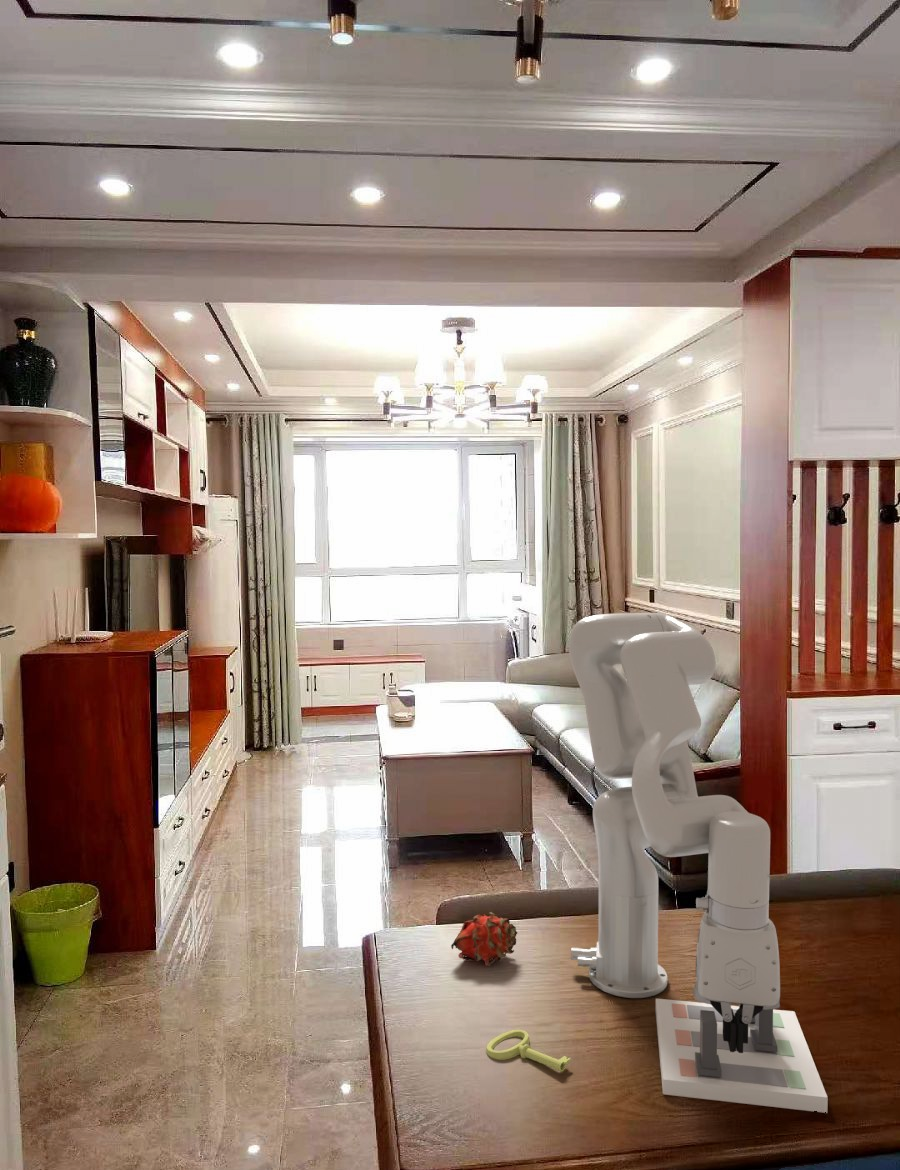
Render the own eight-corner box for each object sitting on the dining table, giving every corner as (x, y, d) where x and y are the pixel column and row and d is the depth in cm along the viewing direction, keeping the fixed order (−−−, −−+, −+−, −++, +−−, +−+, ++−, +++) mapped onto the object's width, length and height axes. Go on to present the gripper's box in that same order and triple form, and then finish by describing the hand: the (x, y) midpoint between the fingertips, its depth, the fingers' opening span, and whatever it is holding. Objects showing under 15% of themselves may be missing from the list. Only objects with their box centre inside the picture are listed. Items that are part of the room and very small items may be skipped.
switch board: (662, 1094, 110) (663, 1078, 110) (655, 1011, 130) (655, 997, 130) (827, 1112, 107) (827, 1096, 107) (794, 1024, 126) (794, 1010, 126)
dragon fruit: (523, 966, 147) (457, 985, 144) (507, 921, 154) (443, 939, 151) (528, 941, 142) (459, 961, 139) (510, 896, 148) (444, 914, 145)
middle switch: (754, 1049, 116) (754, 1001, 116) (750, 1034, 120) (750, 987, 119) (777, 1052, 116) (778, 1003, 115) (772, 1037, 119) (773, 989, 119)
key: (565, 1081, 114) (565, 1065, 114) (480, 1058, 119) (480, 1043, 119) (581, 1052, 120) (581, 1038, 120) (500, 1032, 126) (500, 1018, 126)
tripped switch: (697, 1074, 111) (698, 1023, 110) (694, 1058, 114) (695, 1008, 114) (721, 1077, 110) (722, 1025, 110) (718, 1060, 114) (718, 1010, 113)
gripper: (680, 917, 108) (678, 1057, 109) (805, 928, 106) (801, 1071, 107) (676, 893, 116) (674, 1024, 117) (792, 902, 113) (789, 1036, 114)
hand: (734, 1046), depth 112 cm, fingers closed
